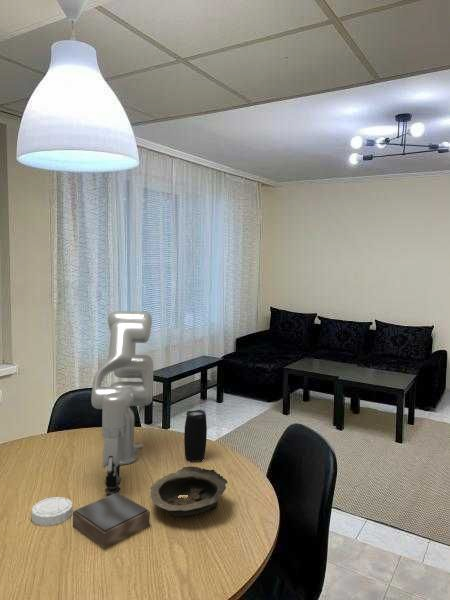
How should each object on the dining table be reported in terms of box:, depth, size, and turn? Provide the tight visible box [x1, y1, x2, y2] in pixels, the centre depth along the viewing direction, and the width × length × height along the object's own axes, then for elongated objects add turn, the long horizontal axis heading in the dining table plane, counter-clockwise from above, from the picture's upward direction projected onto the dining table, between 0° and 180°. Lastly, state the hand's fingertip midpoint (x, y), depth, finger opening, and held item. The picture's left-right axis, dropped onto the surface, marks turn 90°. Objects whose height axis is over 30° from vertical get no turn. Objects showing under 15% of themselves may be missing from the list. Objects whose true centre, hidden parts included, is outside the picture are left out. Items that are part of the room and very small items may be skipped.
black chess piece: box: [103, 464, 123, 495], centre depth 152 cm, size 6×6×12 cm
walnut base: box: [72, 492, 151, 550], centre depth 133 cm, size 16×16×5 cm
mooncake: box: [30, 496, 74, 527], centre depth 138 cm, size 12×12×4 cm
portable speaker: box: [183, 409, 208, 463], centre depth 183 cm, size 9×9×20 cm
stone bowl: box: [149, 465, 228, 517], centre depth 145 cm, size 25×25×9 cm
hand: (112, 481), depth 152 cm, fingers closed on black chess piece, 5 cm apart
